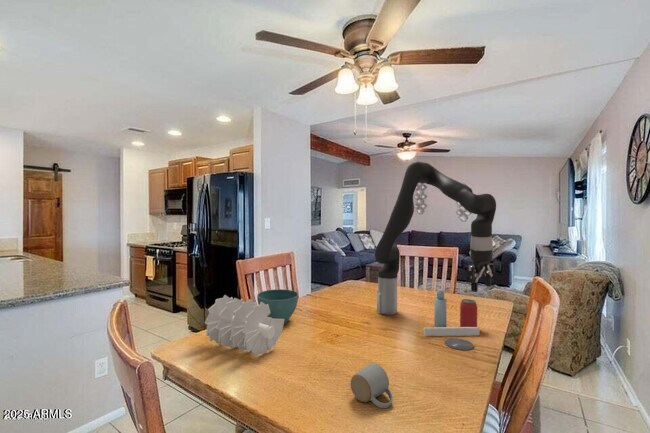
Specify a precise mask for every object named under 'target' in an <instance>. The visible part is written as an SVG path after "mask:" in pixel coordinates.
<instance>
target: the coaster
mask: <svg viewBox="0 0 650 433" xmlns="http://www.w3.org/2000/svg"><path fill="white" fill-rule="evenodd" d="M444 344H445V345H446V347H448V348H449V349H450V348H451V349H454V350H458V351H470V350H473V349H474V348H475V344H474V343H473V342H471V341H469V340H467V339H464V338H458V337H456V338H455V337H449V338H446V339H445V340H444Z"/></svg>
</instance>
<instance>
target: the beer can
mask: <svg viewBox="0 0 650 433" xmlns="http://www.w3.org/2000/svg"><path fill="white" fill-rule="evenodd" d="M459 312H460V313H459V327H478V305H477V301H476V300H475V299H468V298H467V299H466V298H465V299H461V302H460V305H459Z"/></svg>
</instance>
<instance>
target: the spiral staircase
mask: <svg viewBox="0 0 650 433" xmlns="http://www.w3.org/2000/svg"><path fill="white" fill-rule="evenodd" d="M207 311H208V315H207V317H206V319H205V321H204V324H205V325H207V326H206V333H205V334H206V337H209V342H212V341H214V342H215V343H216V344H217V345H219V346H222V347H225V346H227V347H229V348H230V349H231V350H234V349H235V348H236V347H237V348H238V349H239V350H240V352H241V353H244V351H245V350H246V353H250V352H251V353H252V354H253V355H254V356H255V357H258V356H259V355H263V354H268V351H270V350H271V349H272V348H273V347H274V346H275V345H277V343H278V340H279V339H280V336H281V335H282V333H283V329H284V325H285V323H284V320H285V319H272V318H271V317H267V316H268V315H269V314H270V313H271V312H270V309H269V305H268V304H267V305H265V304H264V303H263V302H260V305H258V301H257V302H256V301H255V302H254V300H252V299H251V298H249V299H248V301H244V299H243V298H240V299H239V298H237V297H234V298H233V296H231V297H229V296H228V295H226V294H224V295H223V297H220V298H216V299H215V301H214V304H212V305H211V306H210V307H209V308H208V309H207ZM233 348H234V349H233Z"/></svg>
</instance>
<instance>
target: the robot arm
mask: <svg viewBox="0 0 650 433" xmlns="http://www.w3.org/2000/svg"><path fill="white" fill-rule="evenodd" d="M419 184H425V185H426V184H427V185H431V187H432V186H433V187H434V188H437V189H438V190H440V192H441V193H442V194H443V195H444V196H446V197H448V198H450V199H451V200H453V201H455V202H457V203H459V204H460V206H461V207H463V208H464V209H465V210H466V211H467V212H469V213H471V214H475V215H476V218H475V219H474V220H473V221H471V224H470V243H469V244H470V246H469V248H470V252H469V253H470V255H469V256H470V258H469V259H471V261H472V265H470V264H468V265H467V266H466V281H467V282H470V289H471V292H473V293H477V292H478V290H479V287H478V281H479V279H480V278H481V277H482V276H483V275H484V285H485V286H486V287H491V286H492V277H493V276H494V275H495V274H496V260H495V259H493V255H494V254H493V250H494V249H493V247H494V246H493V244H494V243H493V241H494V240H493V222H494V218H495V216H496V210H497V201H496V198H495V197H494V196H493V195H492V194H490V193H482V194H481V193H480V194H475V193H474V192H473V189H472V188H471V187H470V186H468V185H466V184H464V183H461V182H460V181H457V180H455V179H454V178H451V177H449V176H447V175H446V174H444V173H443V172H440V170H438V169H437V168H436V167H434V166H433V165H431V164H430V163H428V162H424V161H419V160H417V161H416V160H415V161H412V162H410V163H409V164H408V166H407V167H406V170H405V173H404V177H403V178H402V183H401V187H400V190H399V193H398V196H397V199H396V202H395V204H394V206H393V207H392V208H393V209H392V211H391V213H390V216H389V220H388V222H387V224H386V227H385V229H384V232H383V234H382V236H381V238H380V240H379V241H378V242H377V245H376V248H375V250H374V259H375V261H376V262H377V263H379V264H381V265H382V264H383V266H382V267H381V268H380V269H379V270H378V271H377V284H378V285H377V291H376V310H377V312H378V314H380V315H390V316H391V315H395V314H397V313H398V274H399V271H400V258H401V254H400V249H399V247H398V246H397V245H396V244H395V242H396V240H397V239H398V238H399V237H400V236H401V235H402V233H403V232H405V230H406V229H407V227H408V226H409V225H410V224H411V223H410V222H411V220H412V218H413V215H414V212H415V207H414V205H415V203H414V194H415V190H416V189H417V187H418V185H419Z"/></svg>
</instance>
